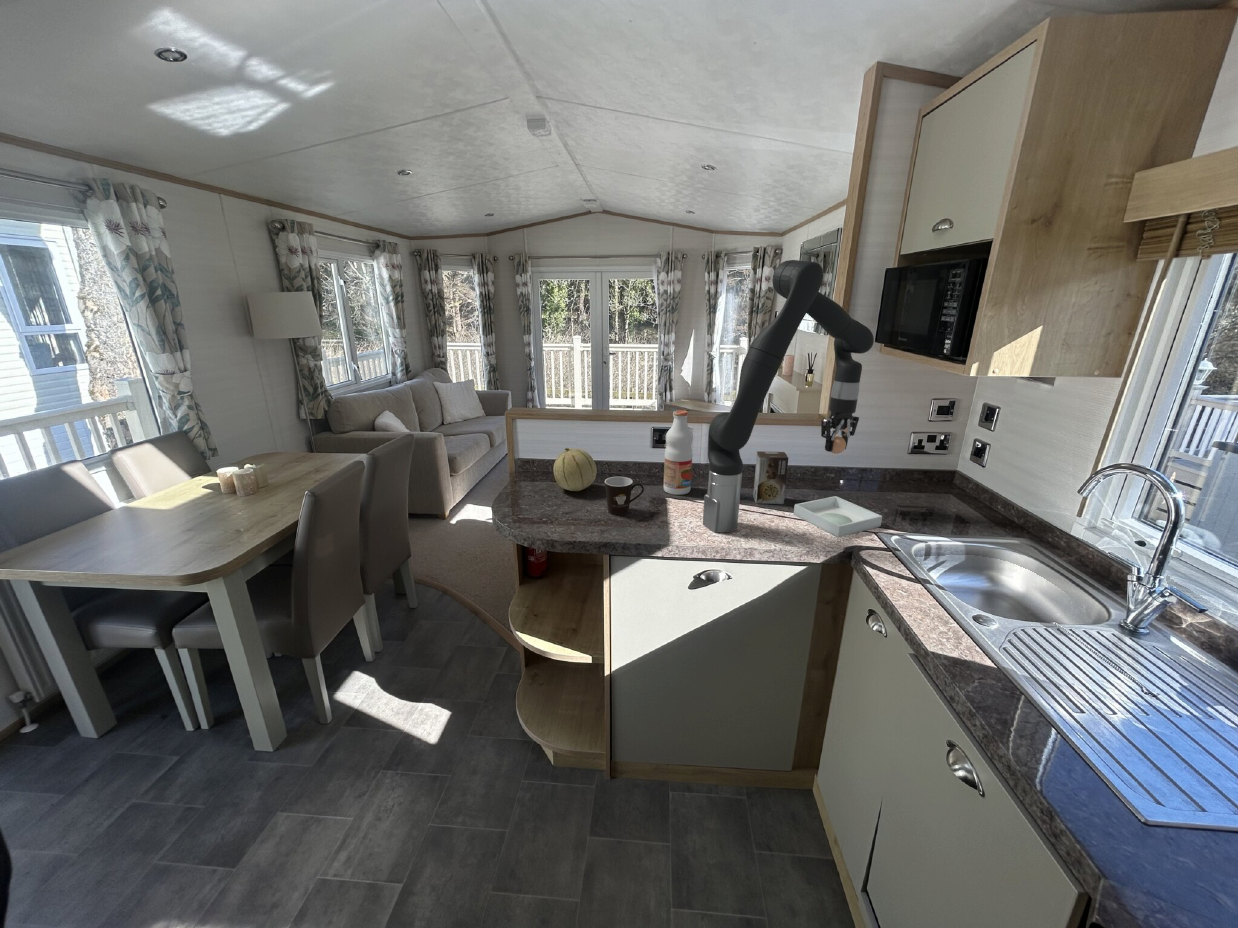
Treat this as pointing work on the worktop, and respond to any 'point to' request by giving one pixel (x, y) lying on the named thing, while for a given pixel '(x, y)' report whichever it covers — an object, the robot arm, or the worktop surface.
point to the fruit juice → (678, 456)
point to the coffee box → (770, 477)
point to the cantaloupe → (574, 469)
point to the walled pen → (837, 516)
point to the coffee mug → (619, 494)
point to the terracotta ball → (838, 445)
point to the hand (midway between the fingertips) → (835, 449)
